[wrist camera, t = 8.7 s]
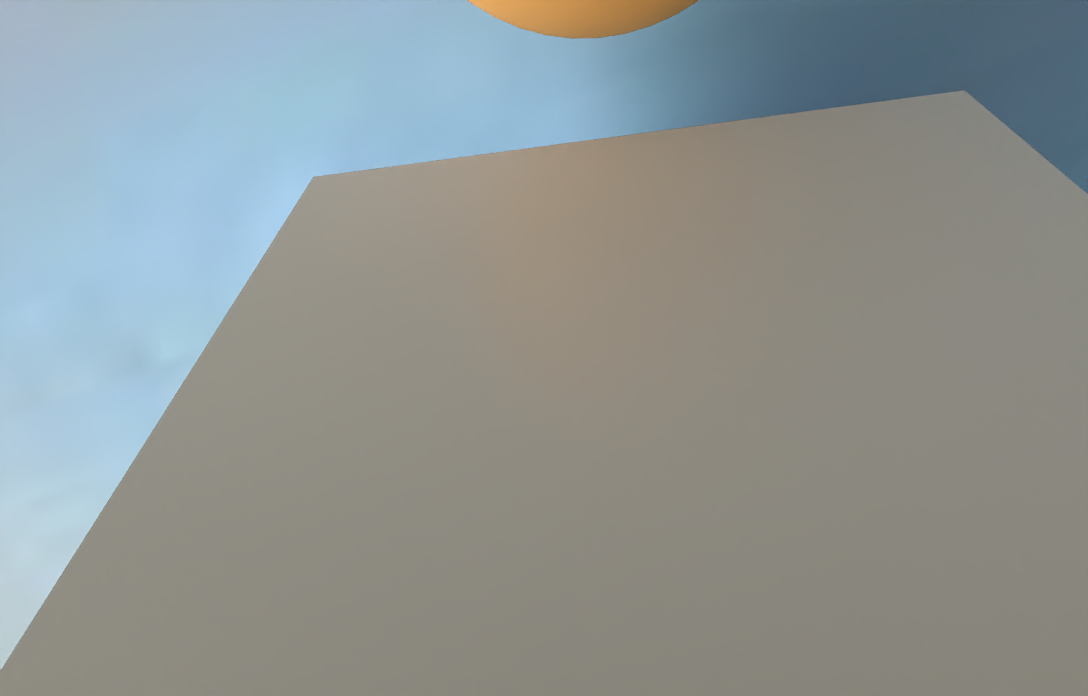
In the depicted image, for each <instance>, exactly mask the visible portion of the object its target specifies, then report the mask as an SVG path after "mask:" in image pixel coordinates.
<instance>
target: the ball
mask: <svg viewBox="0 0 1088 696" xmlns="http://www.w3.org/2000/svg"><path fill="white" fill-rule="evenodd" d="M468 1H469V2H471V3H472V4H474V5H475V6H477V7H479V8H480V9H482V10H484V11H485V12H487V13H489V14H490V15H492V16H494V17H495V18H498V19H500V20H502V21H505V22H507V23H509V24H512V25H514V26H516V27H519V28H522V29H525V30H529V31H533V32H536V33H540V34H544V35H549V36H557V37H565V38H601V37H608V36H614V35H620V34H626V33H629V32H632V31H636V30H639V29H642V28H646V27H649V26H652V25H654V24H656V23H659V22H661V21H663V20H665V19H667V18H670V17H672V16H674V15H676V14H678V13H680V12H681V11H683V10H684V9H686V8H688V7H689V6H691V5H692V4H694V3H696V2H697V1H699V0H468Z"/></svg>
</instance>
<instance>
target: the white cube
mask: <svg viewBox="0 0 1088 696" xmlns="http://www.w3.org/2000/svg"><path fill="white" fill-rule="evenodd" d="M0 696H1088V194H1087V193H1086V192H1085V191H1083V190H1082V189H1081V188H1080V187H1079V186H1078V185H1076V184H1075V183H1074V182H1073V181H1072V180H1070V179H1069V178H1068V177H1067V176H1066V175H1064V174H1063V173H1062V172H1061V171H1060V170H1059V169H1057V168H1056V167H1055V166H1054V165H1053V164H1051V163H1050V162H1049V161H1048V160H1047V159H1046V158H1044V157H1043V156H1042V155H1041V154H1040V153H1038V152H1037V151H1036V150H1035V149H1034V148H1033V147H1031V146H1030V145H1029V144H1028V143H1027V142H1025V141H1024V140H1023V139H1022V138H1021V137H1020V136H1018V135H1017V134H1016V133H1015V132H1014V131H1012V130H1011V129H1010V128H1009V127H1008V126H1006V125H1005V124H1004V123H1003V122H1002V121H1001V120H999V119H998V118H997V117H996V116H995V115H993V114H992V113H991V112H990V111H989V110H988V109H986V108H985V107H984V106H983V105H982V104H980V103H979V102H978V101H977V100H976V99H975V98H973V97H972V96H971V95H970V94H969V93H967V92H966V91H965V90H963V91H955V92H948V93H940V94H933V95H925V96H918V97H910V98H903V99H895V100H888V101H880V102H873V103H865V104H858V105H850V106H843V107H835V108H828V109H820V110H813V111H805V112H798V113H790V114H783V115H775V116H768V117H760V118H752V119H745V120H737V121H730V122H722V123H715V124H707V125H700V126H692V127H685V128H677V129H670V130H662V131H655V132H647V133H640V134H632V135H625V136H617V137H610V138H602V139H595V140H587V141H580V142H572V143H565V144H557V145H550V146H542V147H535V148H527V149H520V150H512V151H505V152H497V153H490V154H482V155H475V156H467V157H460V158H452V159H444V160H437V161H429V162H422V163H414V164H407V165H399V166H392V167H384V168H377V169H369V170H362V171H354V172H347V173H339V174H332V175H324V176H317V177H313V178H312V180H311V182H310V183H309V185H308V186H307V188H306V190H305V191H304V193H303V194H302V196H301V197H300V199H299V201H298V202H297V204H296V205H295V207H294V208H293V210H292V212H291V213H290V215H289V216H288V218H287V220H286V221H285V223H284V224H283V226H282V227H281V229H280V231H279V232H278V234H277V235H276V237H275V238H274V240H273V242H272V243H271V245H270V246H269V248H268V250H267V251H266V253H265V254H264V256H263V257H262V259H261V261H260V262H259V264H258V265H257V267H256V268H255V270H254V272H253V273H252V275H251V276H250V278H249V280H248V281H247V283H246V284H245V286H244V287H243V289H242V291H241V292H240V294H239V295H238V297H237V298H236V300H235V302H234V303H233V305H232V306H231V308H230V309H229V311H228V313H227V314H226V316H225V317H224V319H223V321H222V322H221V324H220V325H219V327H218V328H217V330H216V332H215V333H214V335H213V336H212V338H211V339H210V341H209V343H208V344H207V346H206V347H205V349H204V351H203V352H202V354H201V355H200V357H199V358H198V360H197V362H196V363H195V365H194V366H193V368H192V369H191V371H190V373H189V374H188V376H187V377H186V379H185V381H184V382H183V384H182V385H181V387H180V388H179V390H178V392H177V393H176V395H175V396H174V398H173V399H172V401H171V403H170V404H169V406H168V407H167V409H166V411H165V412H164V414H163V415H162V417H161V418H160V420H159V422H158V423H157V425H156V426H155V428H154V429H153V431H152V433H151V434H150V436H149V437H148V439H147V441H146V442H145V444H144V445H143V447H142V448H141V450H140V452H139V453H138V455H137V456H136V458H135V459H134V461H133V463H132V464H131V466H130V467H129V469H128V471H127V472H126V474H125V475H124V477H123V478H122V480H121V482H120V483H119V485H118V486H117V488H116V489H115V491H114V493H113V494H112V496H111V497H110V499H109V500H108V502H107V504H106V505H105V507H104V508H103V510H102V512H101V513H100V515H99V516H98V518H97V519H96V521H95V523H94V524H93V526H92V527H91V529H90V530H89V532H88V534H87V535H86V537H85V538H84V540H83V542H82V543H81V545H80V546H79V548H78V549H77V551H76V553H75V554H74V556H73V557H72V559H71V560H70V562H69V564H68V565H67V567H66V568H65V570H64V572H63V573H62V575H61V576H60V578H59V579H58V581H57V583H56V584H55V586H54V587H53V589H52V590H51V592H50V594H49V595H48V597H47V598H46V600H45V602H44V603H43V605H42V606H41V608H40V609H39V611H38V613H37V614H36V616H35V617H34V619H33V620H32V622H31V624H30V625H29V627H28V628H27V630H26V632H25V633H24V635H23V636H22V638H21V639H20V641H19V643H18V644H17V646H16V647H15V649H14V650H13V652H12V654H11V655H10V657H9V658H8V660H7V662H6V663H5V665H4V666H3V668H2V669H1V671H0Z"/></svg>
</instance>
